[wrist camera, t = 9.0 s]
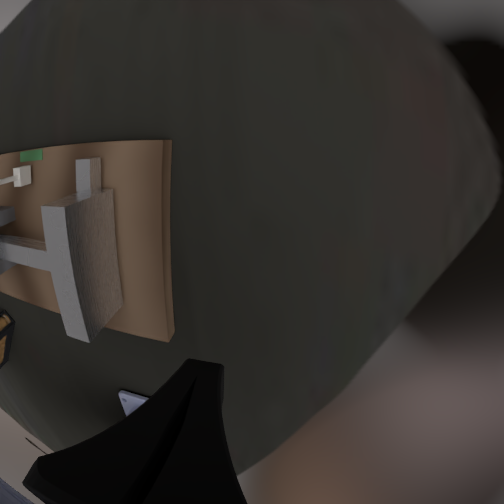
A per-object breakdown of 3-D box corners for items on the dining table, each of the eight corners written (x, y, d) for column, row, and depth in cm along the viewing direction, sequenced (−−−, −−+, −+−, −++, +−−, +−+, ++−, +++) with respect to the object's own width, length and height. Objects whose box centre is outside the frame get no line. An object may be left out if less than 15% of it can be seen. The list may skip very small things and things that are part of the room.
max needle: (30, 165, 14) (-24, 179, 10) (31, 183, 14) (-22, 201, 10) (23, 165, 14) (-29, 180, 10) (24, 183, 14) (-28, 201, 10)
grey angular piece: (112, 156, 13) (62, 166, 9) (123, 304, 16) (89, 343, 13) (7, 164, 14) (-35, 176, 10) (23, 278, 17) (-10, 302, 13)
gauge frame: (172, 139, 14) (105, 143, 8) (174, 331, 18) (138, 398, 13) (-39, 163, 16) (-84, 177, 10) (-22, 274, 20) (-59, 300, 15)
